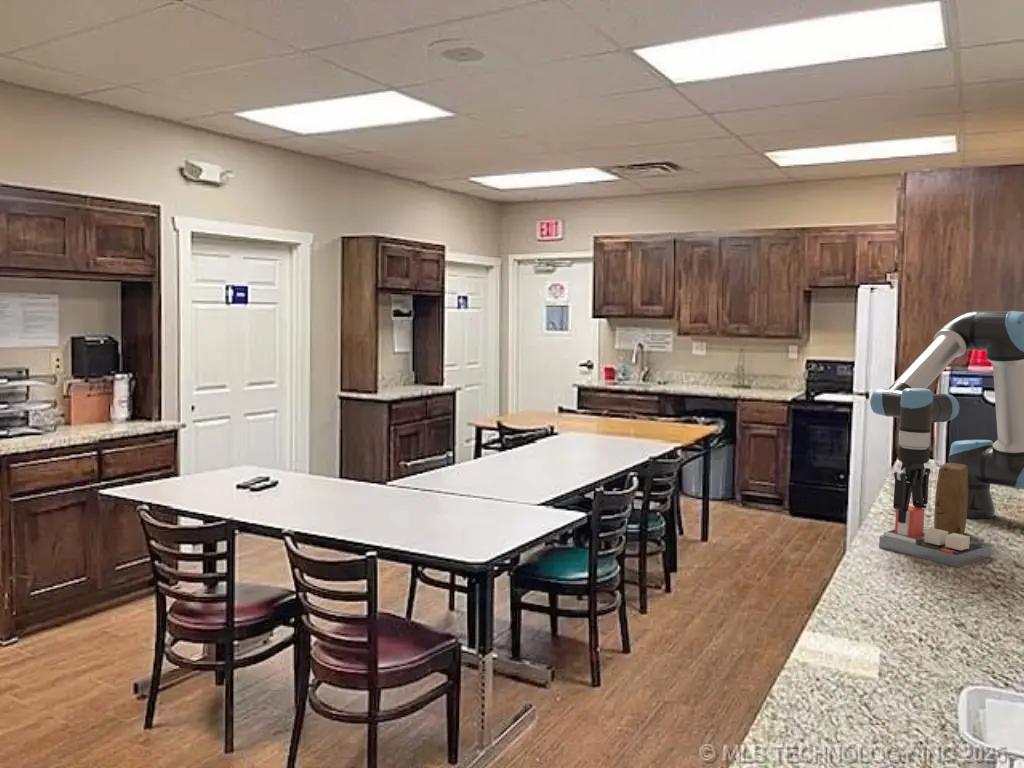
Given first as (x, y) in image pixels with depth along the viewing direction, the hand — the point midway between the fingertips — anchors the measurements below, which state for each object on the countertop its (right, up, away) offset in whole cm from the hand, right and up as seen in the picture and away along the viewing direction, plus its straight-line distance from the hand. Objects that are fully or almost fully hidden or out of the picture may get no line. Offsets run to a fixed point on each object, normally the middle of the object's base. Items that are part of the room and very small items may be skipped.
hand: (909, 532), depth 227 cm
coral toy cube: (0, 0, 0) cm, 0 cm away
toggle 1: (+4, -1, -6) cm, 8 cm away
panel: (+6, -5, -2) cm, 8 cm away
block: (+19, -3, +16) cm, 25 cm away
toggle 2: (+7, -2, -11) cm, 13 cm away
